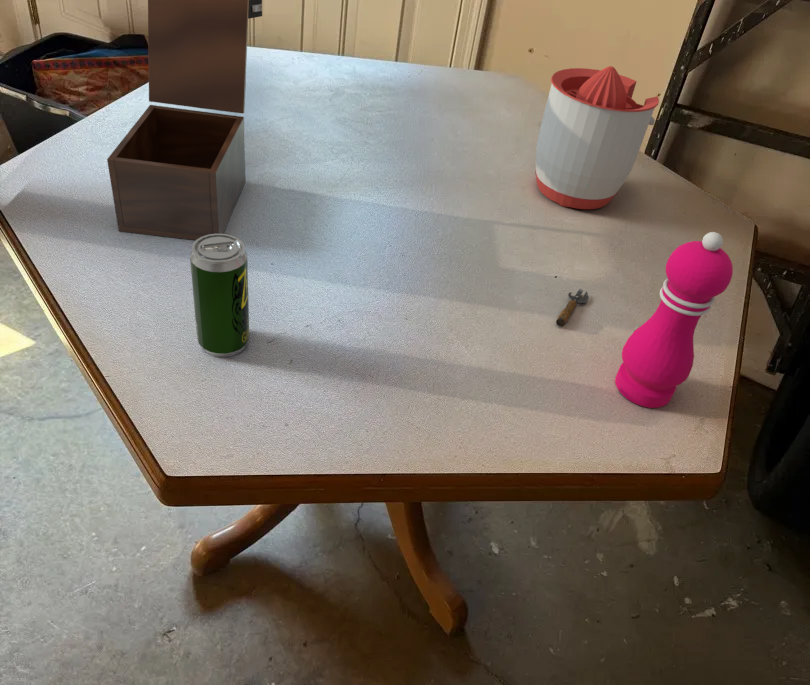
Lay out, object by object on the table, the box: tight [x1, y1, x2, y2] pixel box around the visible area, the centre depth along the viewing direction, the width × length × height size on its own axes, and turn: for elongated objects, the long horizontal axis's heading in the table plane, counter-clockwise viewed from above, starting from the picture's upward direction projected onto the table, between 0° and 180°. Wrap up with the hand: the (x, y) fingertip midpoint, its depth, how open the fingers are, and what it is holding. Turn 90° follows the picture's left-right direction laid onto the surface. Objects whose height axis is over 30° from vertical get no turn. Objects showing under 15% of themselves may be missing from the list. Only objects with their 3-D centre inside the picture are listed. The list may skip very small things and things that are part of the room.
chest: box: [106, 104, 246, 241], centre depth 92 cm, size 17×13×10 cm
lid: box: [147, 0, 249, 114], centre depth 92 cm, size 17×13×1 cm
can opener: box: [555, 288, 589, 327], centre depth 87 cm, size 9×2×1 cm, turn 145°
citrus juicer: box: [534, 65, 660, 210], centre depth 106 cm, size 16×17×20 cm
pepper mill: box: [614, 231, 734, 409], centre depth 71 cm, size 7×7×20 cm
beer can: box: [189, 233, 250, 358], centre depth 71 cm, size 5×5×12 cm
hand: (203, 18), depth 93 cm, fingers closed
